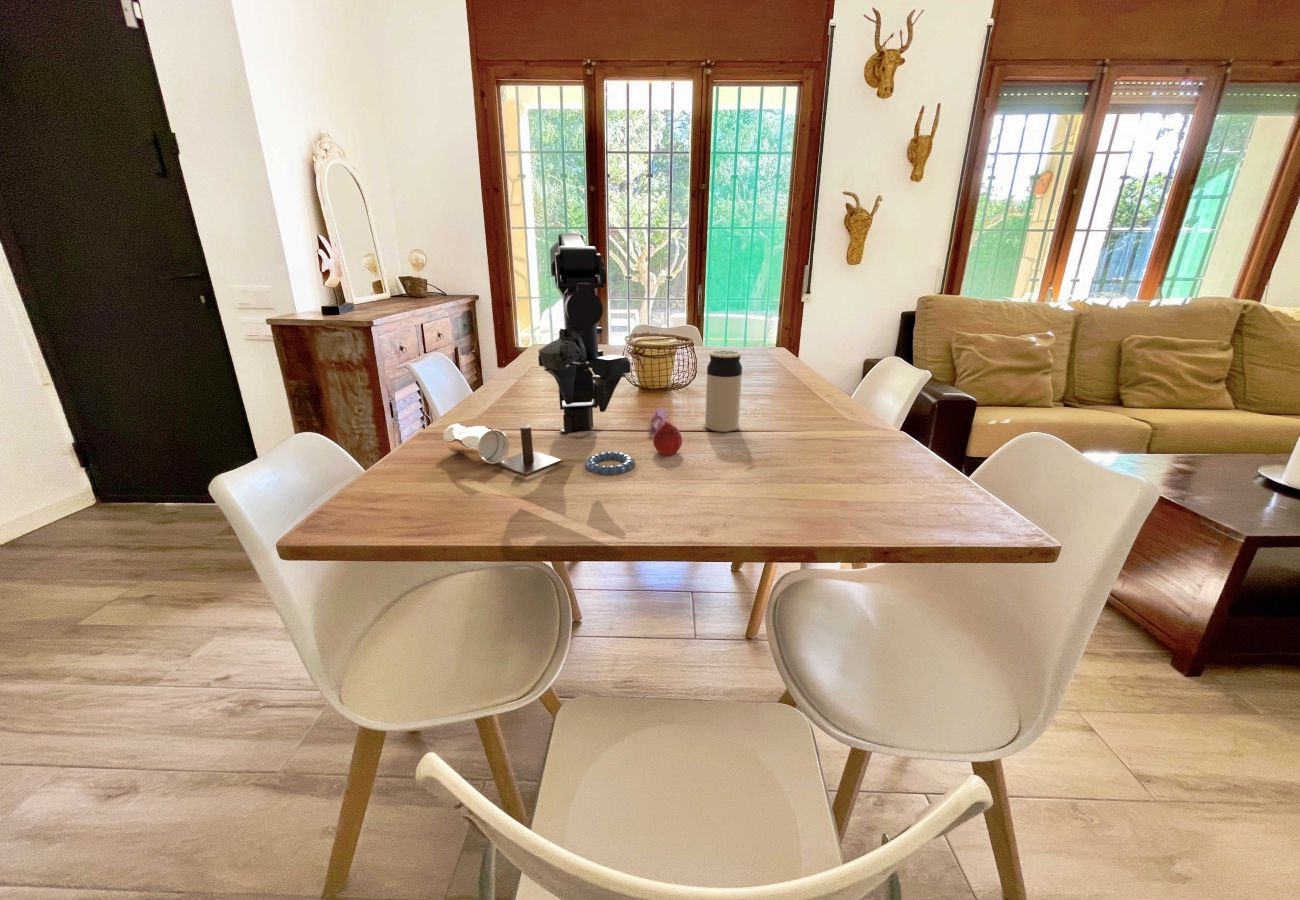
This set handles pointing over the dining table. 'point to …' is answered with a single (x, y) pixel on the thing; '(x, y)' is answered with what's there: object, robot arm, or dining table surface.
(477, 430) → the beer glass
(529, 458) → the stand
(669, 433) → the onion
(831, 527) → the dining table surface
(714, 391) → the travel mug
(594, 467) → the blue ribbed ring toss
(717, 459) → the dining table surface
